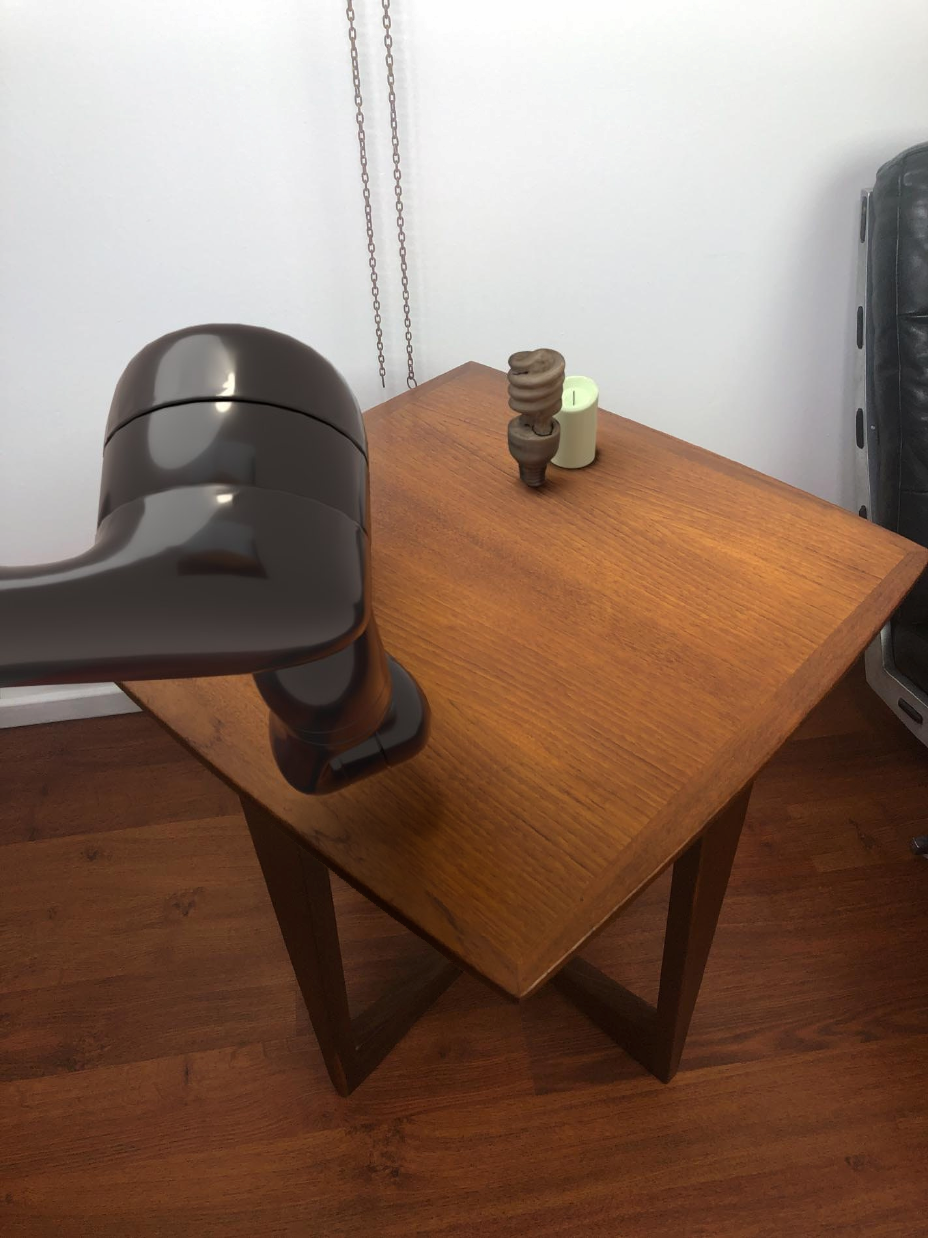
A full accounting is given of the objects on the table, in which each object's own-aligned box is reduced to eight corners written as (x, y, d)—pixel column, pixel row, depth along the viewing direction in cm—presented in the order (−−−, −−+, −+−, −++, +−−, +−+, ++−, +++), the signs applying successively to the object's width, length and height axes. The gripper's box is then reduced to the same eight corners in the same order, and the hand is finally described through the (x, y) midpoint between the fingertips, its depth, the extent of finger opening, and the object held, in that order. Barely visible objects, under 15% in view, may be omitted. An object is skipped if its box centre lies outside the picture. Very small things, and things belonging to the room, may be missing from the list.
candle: (585, 472, 100) (589, 402, 95) (540, 463, 102) (542, 393, 97) (601, 449, 104) (605, 379, 98) (557, 440, 106) (559, 371, 100)
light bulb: (572, 484, 99) (578, 348, 89) (539, 508, 96) (542, 370, 86) (529, 466, 102) (530, 332, 92) (496, 489, 99) (493, 353, 89)
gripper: (376, 522, 74) (321, 422, 87) (190, 568, 71) (160, 457, 83) (385, 597, 79) (332, 492, 91) (212, 644, 76) (181, 529, 88)
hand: (250, 476), depth 87 cm, fingers closed on beverage can, 5 cm apart
